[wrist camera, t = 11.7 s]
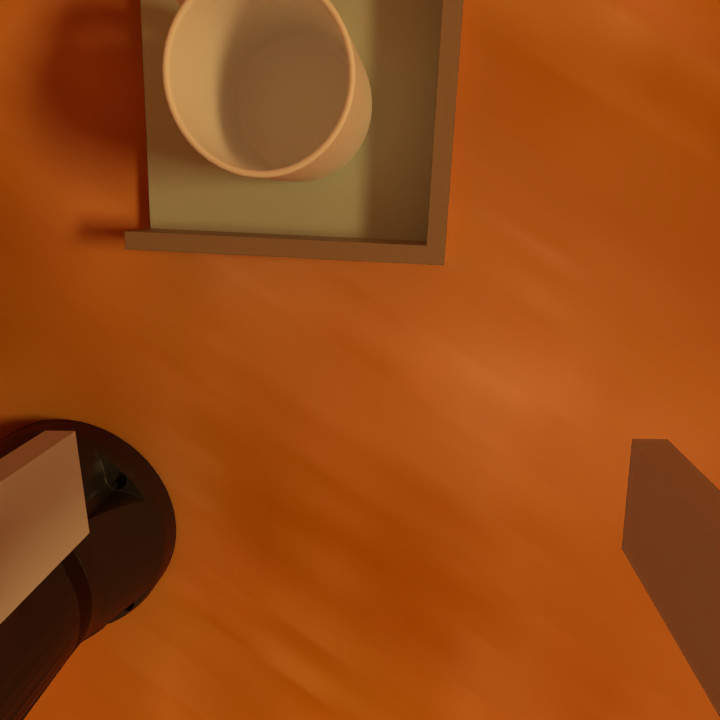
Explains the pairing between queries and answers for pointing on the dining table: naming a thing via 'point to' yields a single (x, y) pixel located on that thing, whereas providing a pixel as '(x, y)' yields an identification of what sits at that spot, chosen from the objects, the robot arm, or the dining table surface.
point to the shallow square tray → (342, 188)
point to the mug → (267, 86)
